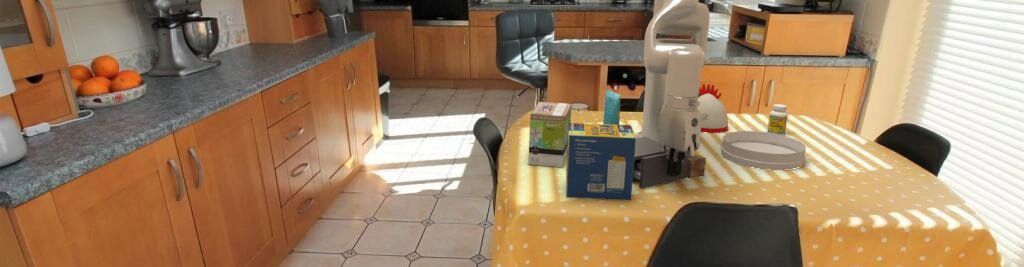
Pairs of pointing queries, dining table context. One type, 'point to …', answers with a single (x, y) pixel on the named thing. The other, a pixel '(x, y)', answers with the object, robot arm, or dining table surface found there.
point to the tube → (612, 108)
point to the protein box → (600, 161)
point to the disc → (638, 165)
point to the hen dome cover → (712, 111)
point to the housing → (646, 150)
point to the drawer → (657, 171)
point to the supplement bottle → (778, 120)
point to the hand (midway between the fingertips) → (673, 174)
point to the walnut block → (695, 166)
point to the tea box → (549, 134)
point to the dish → (763, 150)
